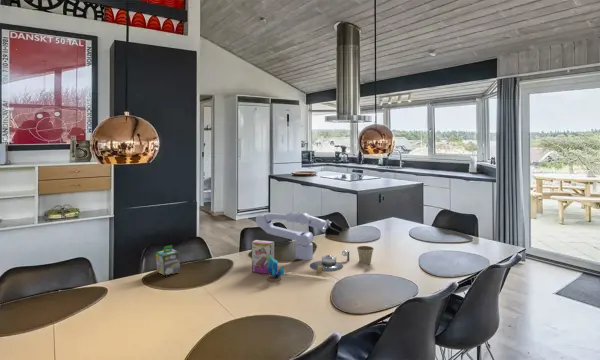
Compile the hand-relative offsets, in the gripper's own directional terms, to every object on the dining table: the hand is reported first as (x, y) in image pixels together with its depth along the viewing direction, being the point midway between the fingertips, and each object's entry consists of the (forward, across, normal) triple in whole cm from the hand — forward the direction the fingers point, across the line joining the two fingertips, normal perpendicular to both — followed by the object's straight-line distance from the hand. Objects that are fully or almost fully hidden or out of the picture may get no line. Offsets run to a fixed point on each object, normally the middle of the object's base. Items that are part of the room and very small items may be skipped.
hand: (340, 231), depth 205 cm
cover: (0, -6, +17) cm, 18 cm away
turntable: (-1, -13, +18) cm, 22 cm away
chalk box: (-75, -44, +38) cm, 95 cm away
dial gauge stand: (+8, +2, +16) cm, 19 cm away
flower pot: (+18, +3, +14) cm, 23 cm away
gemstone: (-20, -35, +23) cm, 47 cm away
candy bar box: (-29, -28, +26) cm, 48 cm away
